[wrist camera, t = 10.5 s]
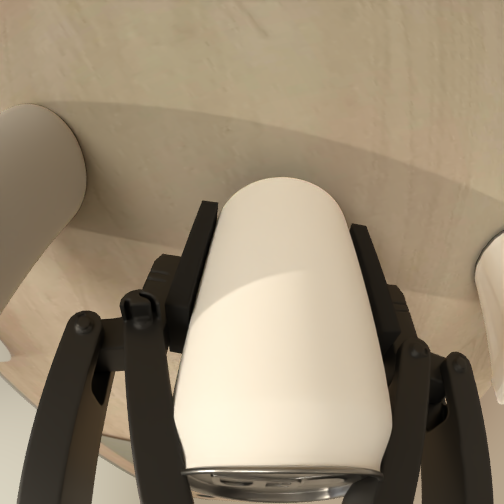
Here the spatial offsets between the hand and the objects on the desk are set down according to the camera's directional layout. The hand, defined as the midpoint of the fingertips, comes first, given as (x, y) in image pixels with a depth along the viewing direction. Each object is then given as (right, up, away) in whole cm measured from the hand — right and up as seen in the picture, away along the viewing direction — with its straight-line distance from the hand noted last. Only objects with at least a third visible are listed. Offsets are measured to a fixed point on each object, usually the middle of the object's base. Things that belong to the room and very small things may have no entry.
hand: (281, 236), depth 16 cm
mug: (-16, +5, 0) cm, 17 cm away
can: (0, 0, +1) cm, 1 cm away
